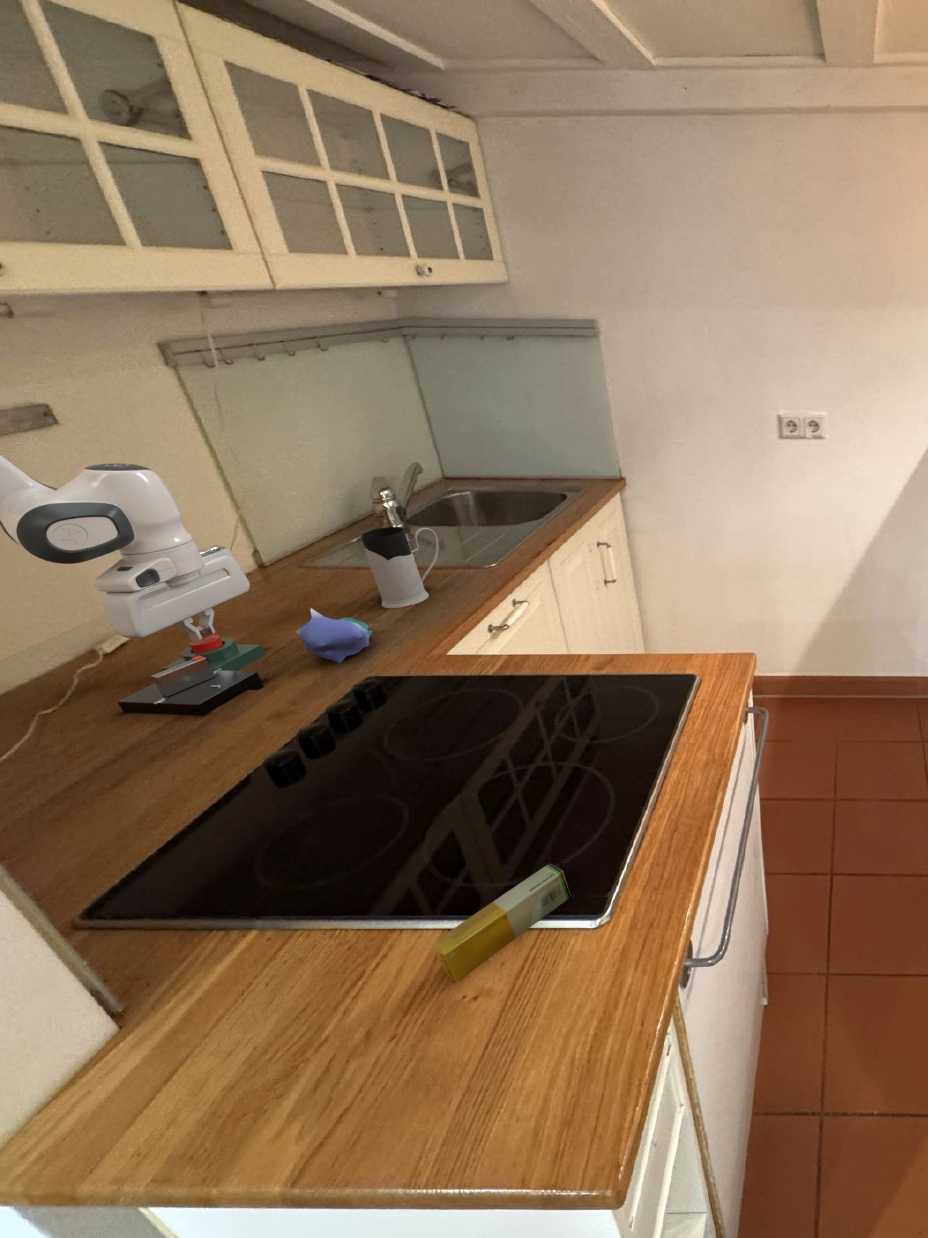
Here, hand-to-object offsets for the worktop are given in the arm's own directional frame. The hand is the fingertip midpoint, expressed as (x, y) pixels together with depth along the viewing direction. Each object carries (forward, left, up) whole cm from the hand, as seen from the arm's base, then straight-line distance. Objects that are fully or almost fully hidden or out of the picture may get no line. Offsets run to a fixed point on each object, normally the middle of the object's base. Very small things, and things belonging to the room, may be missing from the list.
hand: (204, 637), depth 116 cm
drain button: (0, 0, -2) cm, 2 cm away
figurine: (+20, +6, -6) cm, 22 cm away
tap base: (+8, -11, -6) cm, 15 cm away
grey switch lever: (+8, -11, -3) cm, 14 cm away
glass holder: (+15, +32, -6) cm, 36 cm away
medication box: (+84, -49, -6) cm, 97 cm away
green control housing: (0, 0, -6) cm, 6 cm away
